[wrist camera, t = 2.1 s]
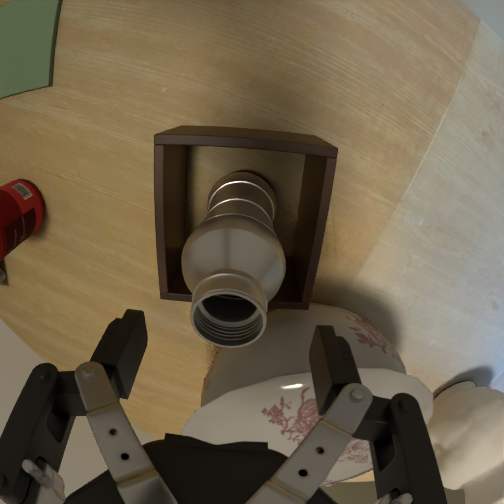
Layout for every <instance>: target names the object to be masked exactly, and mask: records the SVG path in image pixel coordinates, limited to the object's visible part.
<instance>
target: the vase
mask: <svg viewBox="0 0 504 504" xmlns="http://www.w3.org/2000/svg"><path fill="white" fill-rule="evenodd" d="M433 406H434V412H433V414H432V417H431V419H430V420H429V422H428V424H427V426H426V427H427V430H428V433H429V437H430V440H431V443H432V447H433V450H434V453H435V457H436V460H437V464H438V468H439V472H440V475H441V479H442V483H443V486H444V487H446V488H449V489H453V490H457V489H464V491H465V496H466V502H465V504H504V393H503V392H501V391H498V390H497V389H492V388H490V387H489V388H486V387H476V386H475V384H474V383H473V382H470V381H466V382H461V383H457V384H455V385H453V386H451V387H449V388H447V389H446V390H444V391H443V392H441V393H440V394H439V395H438V396H437V397H436V398H435V399H434V401H433Z"/></svg>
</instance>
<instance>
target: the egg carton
mask: <svg viewBox="0 0 504 504" xmlns="http://www.w3.org/2000/svg"><path fill="white" fill-rule="evenodd" d="M5 278H6V274H5V272H3V270H2V269H1V268H0V285H1V284H2V283H3V280H4V279H5Z"/></svg>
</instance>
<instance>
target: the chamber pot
mask: <svg viewBox="0 0 504 504" xmlns="http://www.w3.org/2000/svg"><path fill="white" fill-rule="evenodd" d="M266 318H267V321H266V327H265V330H264V332H263V334H262V335H261V336H260V338H258V339H257V340H256V341H255V342H253V343H251V344H249V345H246V346H243V347H238V348H226V347H221V348H220V349H219V351H218V352H217V354H216V356H215V357H214V359H213V361H212V363H211V366H210V368H209V370H208V372H207V375H206V377H205V379H204V383H203V390H202V396H201V408H199V409H198V410H196V411H195V412H194V413H193V415H192V416H191V417H190V419H189V420H188V421H187V423H186V424H185V425H184V427H183V428H182V429H181V435H183V436H190V437H193V438H196V439H199V440H202V441H205V442H208V443H211V444H215V445H219V444H227V443H234V442H240V441H250V442H268V449H272V450H275V451H278V452H280V453H282V454H284V455H286V456H287V457H289V456H290V455H291V454H292V453H293V452H294V450H295V449H296V448H297V447H298V445H299V444H300V443H301V442H302V440H303V439H304V438H305V437H306V435H307V434H308V433H309V432H310V430H311V429H312V428H313V426H314V425H315V424H316V422H317V421H318V420H319V419H320V418H322V417H323V416H318V410H317V404H316V398H315V392H314V386H313V380H312V374H311V369H310V363H309V350H310V346H311V342H312V338H313V335H314V331H315V327H316V325H332V326H333V327H334V330H335V334H336V336H343V337H344V338H345V340H346V341H347V342H348V343H349V345H350V348H351V351H352V354H353V357H354V360H355V363H356V366H357V369H358V372H359V376H360V379H361V382H362V385H364V386H366V387H367V388H368V389H369V390H370V391H371V393H372V395H374V396H377V397H382V398H387V399H392V397H393V396H394V395H395V394H398V393H408V394H410V395H412V396H413V397H415V398H416V400H417V401H418V403H419V406H420V409H421V412H422V415H423V418H424V421H425V424H426V426H427V424H428V422H429V420H430V419H431V417H432V414H433V412H434V406H433V393H432V392H431V391H430V390H429V389H428V388H427V387H426V386H425V385H424V384H423V383H422V382H421V381H420V379H419V378H417V377H413V376H410V375H407V374H406V369H405V366H404V364H403V362H402V360H401V358H400V355H399V353H398V352H397V350H396V349H395V348H394V347H393V346H392V345H391V343H390V342H389V341H388V340H387V339H386V338H385V336H384V335H383V334H382V333H381V332H380V331H379V330H378V329H377V328H376V327H375V326H374V325H373V324H372V323H371V322H370V321H369V320H368V319H366V318H364V317H362V316H359V315H357V314H354V313H352V312H350V311H347V310H345V309H342V308H339V307H336V306H332V305H329V304H320V303H310V305H309V309H308V310H294V309H276V308H274V309H272V310H269V311H267V312H266ZM371 470H373V465H372V459H371V453H370V447H369V442H368V441H366V440H360V439H355V438H351V440H350V442H349V443H348V445H347V446H346V448H345V450H344V451H343V453H342V454H341V456H340V457H339V459H338V460H337V462H336V463H335V465H334V466H333V468H332V469H331V471H330V472H329V474H328V475H327V476H326V478H325V479H324V481H323V482H322V484H321V485H320V486H326V487H328V486H332V484H334V483H337V482H341V481H345V480H348V479H351V478H354V477H357V476H360V475H362V474H364V473H367V472H369V471H371Z"/></svg>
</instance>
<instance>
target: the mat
mask: <svg viewBox="0 0 504 504" xmlns="http://www.w3.org/2000/svg"><path fill="white" fill-rule="evenodd" d="M61 2H62V0H14V1H12V2H10V3H8V4H6V5H4V6H2V7H0V98H4V97H7V96H11V95H14V94H18V93H22V92H26V91H30V90H34V89H38V88H43V87H47V86H52V75H53V61H54V50H55V41H56V33H57V26H58V20H59V13H60V8H61Z"/></svg>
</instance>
